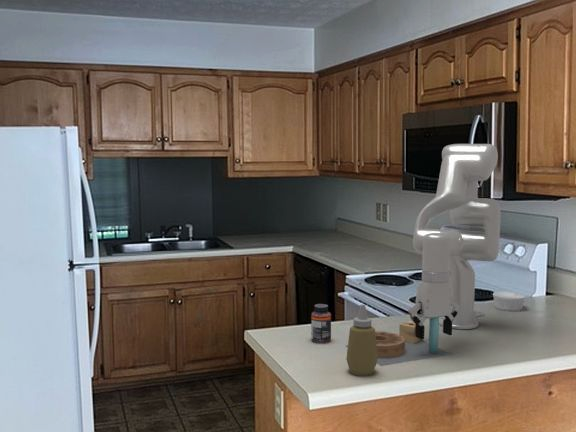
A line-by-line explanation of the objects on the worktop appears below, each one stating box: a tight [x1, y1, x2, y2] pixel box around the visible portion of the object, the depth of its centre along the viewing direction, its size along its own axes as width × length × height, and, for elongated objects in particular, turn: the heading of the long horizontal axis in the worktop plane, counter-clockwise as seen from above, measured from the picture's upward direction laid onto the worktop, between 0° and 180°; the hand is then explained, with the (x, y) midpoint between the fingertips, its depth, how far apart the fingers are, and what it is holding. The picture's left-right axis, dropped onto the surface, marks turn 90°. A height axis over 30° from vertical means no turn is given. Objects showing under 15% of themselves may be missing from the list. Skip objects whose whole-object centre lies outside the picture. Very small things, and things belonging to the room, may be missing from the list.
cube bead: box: [398, 320, 423, 344], centre depth 188 cm, size 5×5×5 cm
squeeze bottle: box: [345, 304, 377, 376], centre depth 161 cm, size 8×8×18 cm
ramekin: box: [492, 290, 526, 312], centre depth 230 cm, size 11×11×5 cm
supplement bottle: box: [310, 303, 332, 345], centre depth 187 cm, size 6×6×11 cm
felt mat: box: [345, 340, 452, 367], centre depth 179 cm, size 24×19×1 cm
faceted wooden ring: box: [375, 330, 405, 358], centre depth 179 cm, size 14×14×4 cm
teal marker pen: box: [428, 317, 440, 354], centre depth 177 cm, size 3×3×14 cm
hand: (433, 336), depth 177 cm, fingers open, 9 cm apart
